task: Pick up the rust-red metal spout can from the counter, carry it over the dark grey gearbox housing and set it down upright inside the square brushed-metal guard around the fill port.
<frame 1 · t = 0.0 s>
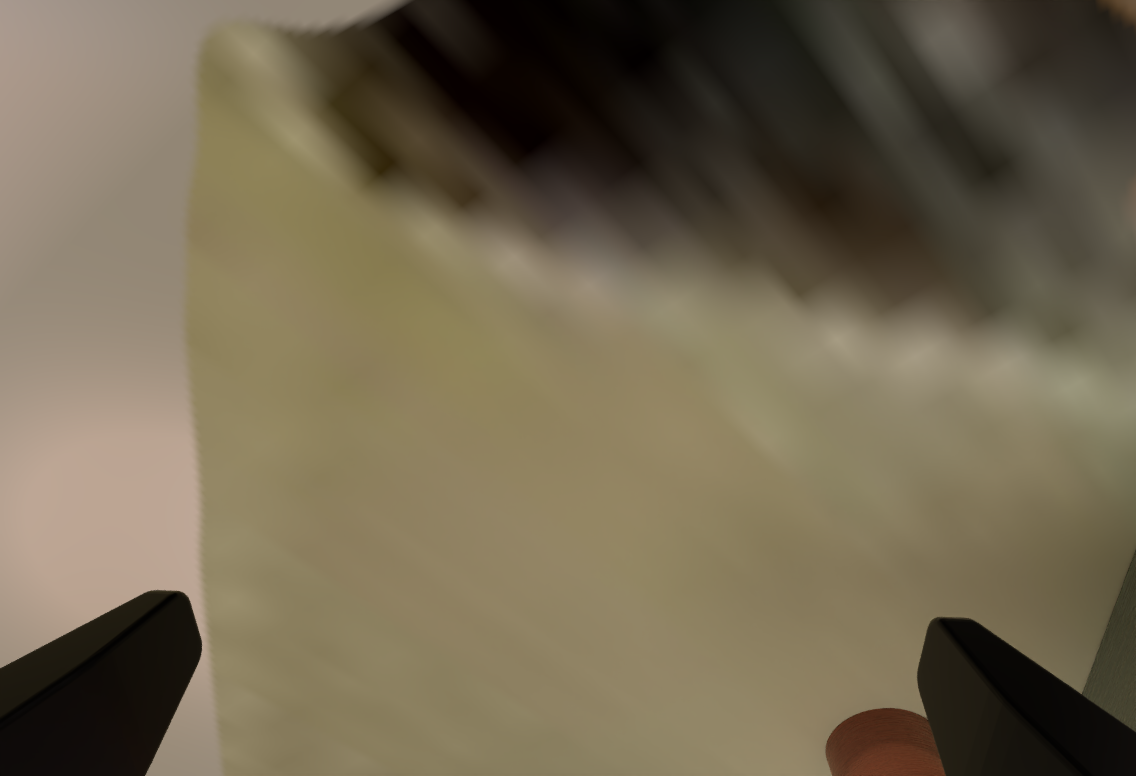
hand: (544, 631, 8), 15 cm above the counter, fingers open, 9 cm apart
spout can: (882, 748, 28), on the counter
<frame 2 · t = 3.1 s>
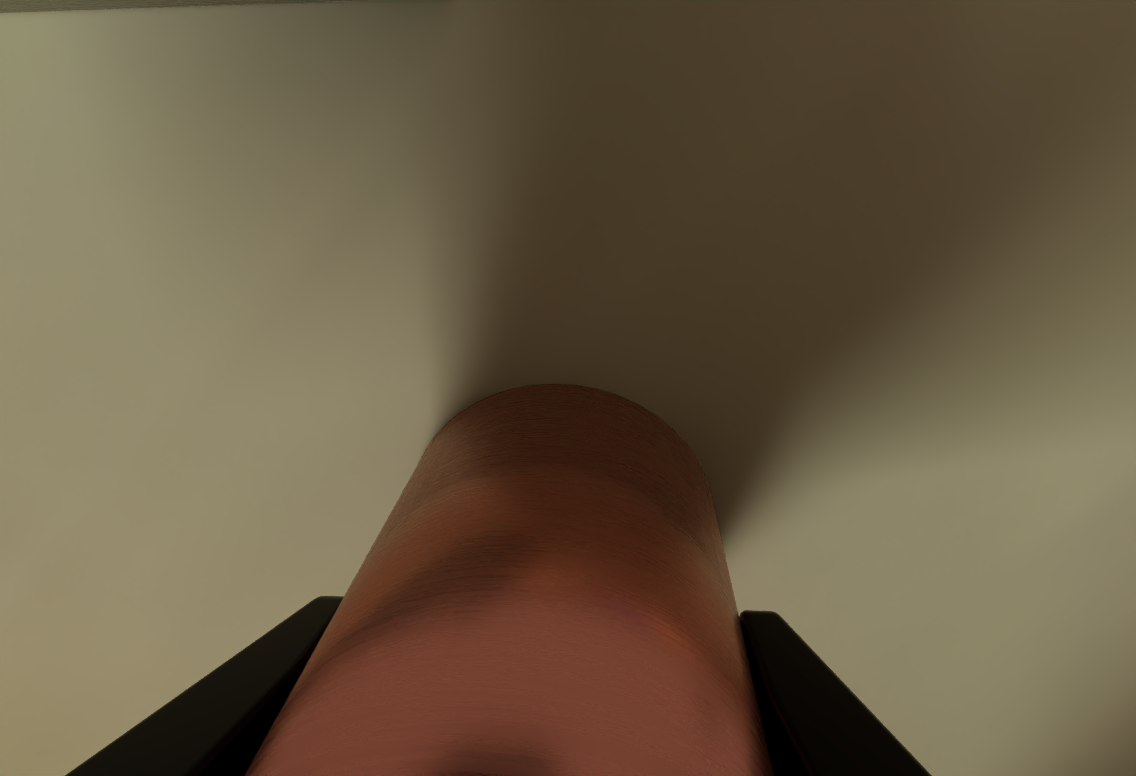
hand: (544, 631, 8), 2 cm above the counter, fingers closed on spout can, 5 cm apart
spout can: (560, 523, 10), on the counter, touching gripper
when the fingers open (7 cm above the counter, at t = 7.0 s): spout can stays where it is, resting on gearbox.
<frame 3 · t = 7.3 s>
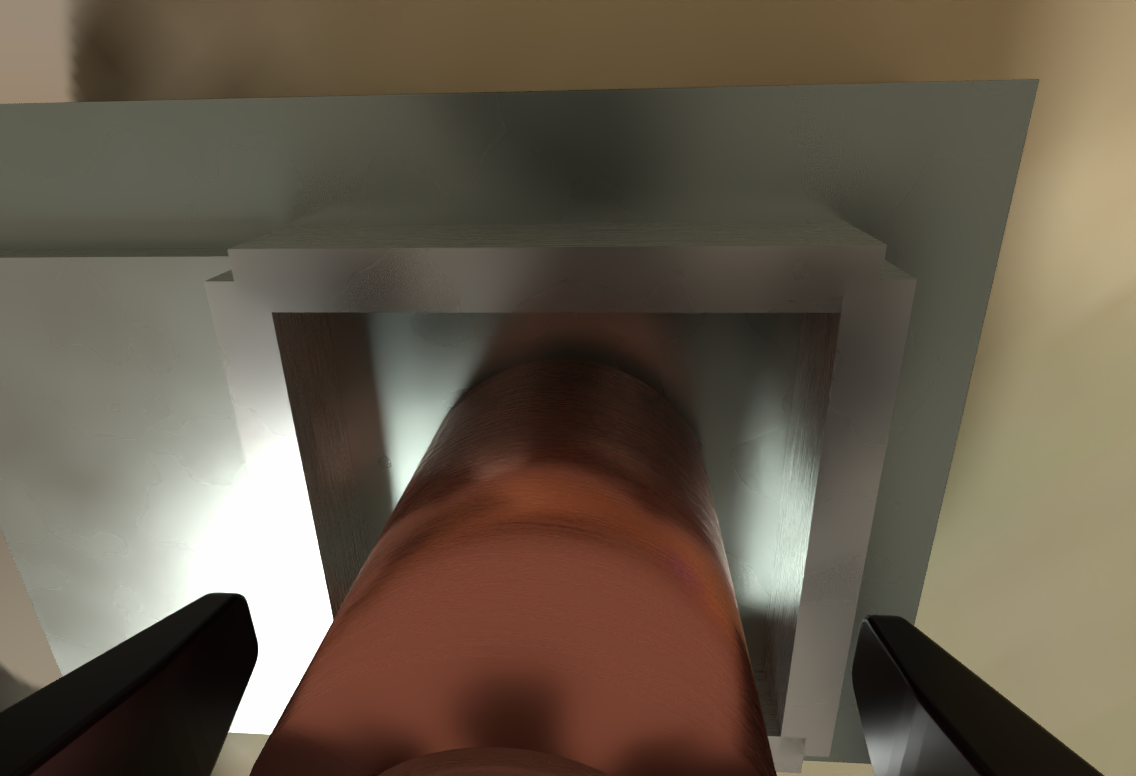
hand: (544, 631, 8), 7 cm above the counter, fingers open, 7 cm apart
gearbox: (487, 391, 15), on the counter
spout can: (565, 490, 11), point 4 cm above the counter, touching gearbox
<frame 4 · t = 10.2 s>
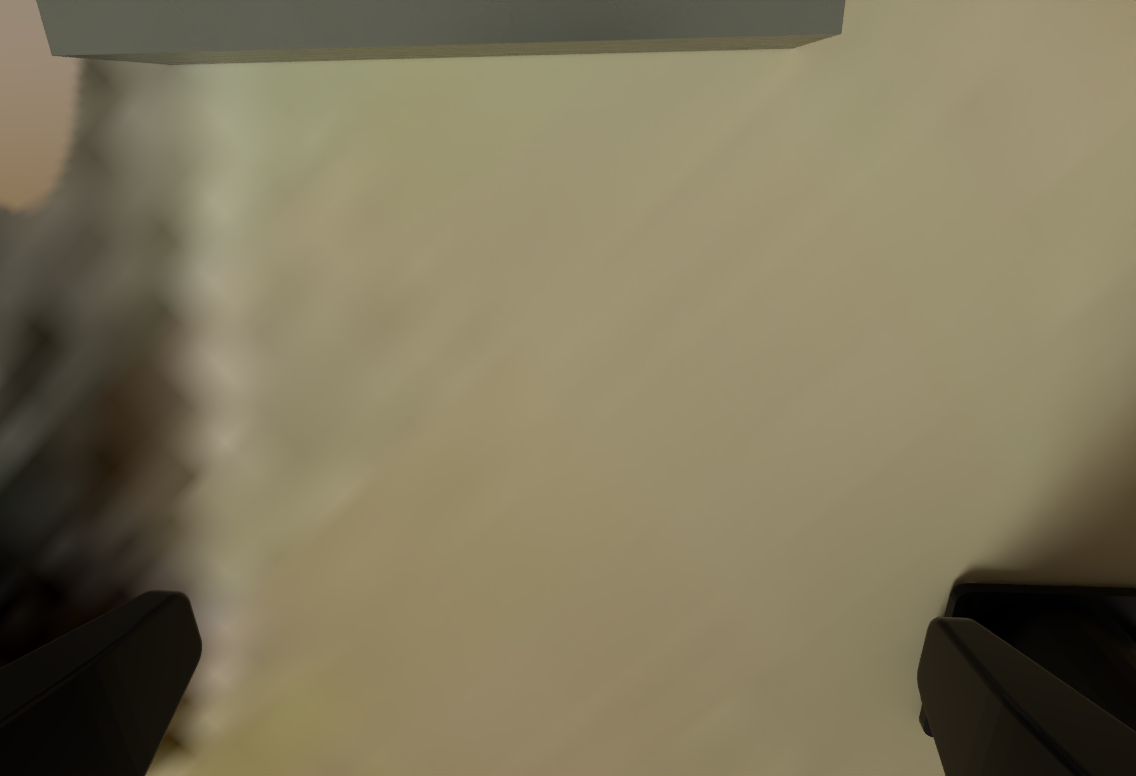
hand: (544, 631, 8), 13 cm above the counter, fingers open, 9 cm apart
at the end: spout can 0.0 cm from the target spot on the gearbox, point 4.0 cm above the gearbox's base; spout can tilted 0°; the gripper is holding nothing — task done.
